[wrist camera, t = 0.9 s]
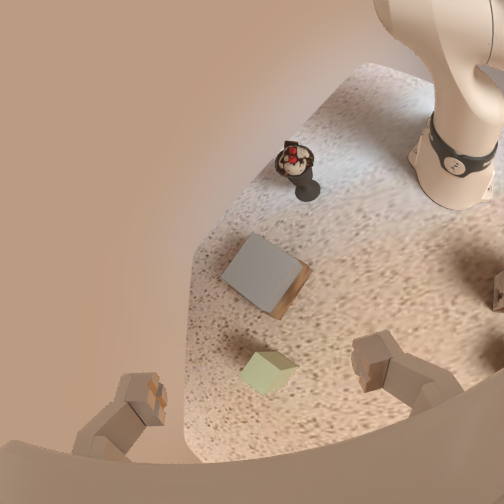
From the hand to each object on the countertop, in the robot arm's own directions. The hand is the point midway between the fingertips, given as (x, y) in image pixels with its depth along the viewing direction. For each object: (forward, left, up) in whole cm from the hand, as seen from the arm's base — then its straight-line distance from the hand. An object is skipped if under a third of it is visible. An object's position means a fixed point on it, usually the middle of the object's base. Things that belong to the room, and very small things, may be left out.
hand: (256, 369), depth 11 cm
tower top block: (-4, -17, -33) cm, 37 cm away
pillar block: (+8, -7, -37) cm, 39 cm away
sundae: (-22, -21, -37) cm, 48 cm away
